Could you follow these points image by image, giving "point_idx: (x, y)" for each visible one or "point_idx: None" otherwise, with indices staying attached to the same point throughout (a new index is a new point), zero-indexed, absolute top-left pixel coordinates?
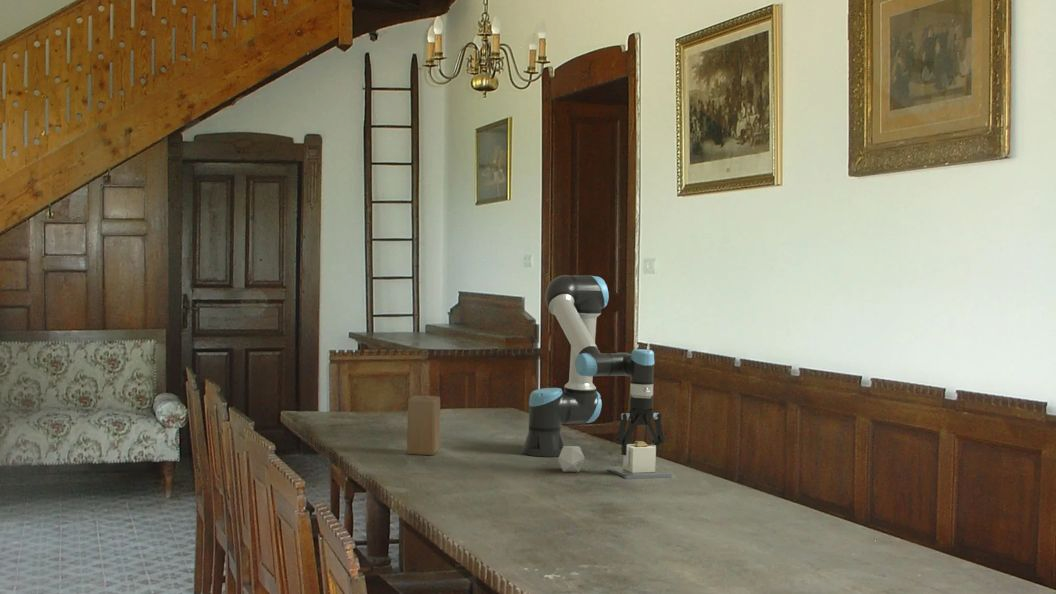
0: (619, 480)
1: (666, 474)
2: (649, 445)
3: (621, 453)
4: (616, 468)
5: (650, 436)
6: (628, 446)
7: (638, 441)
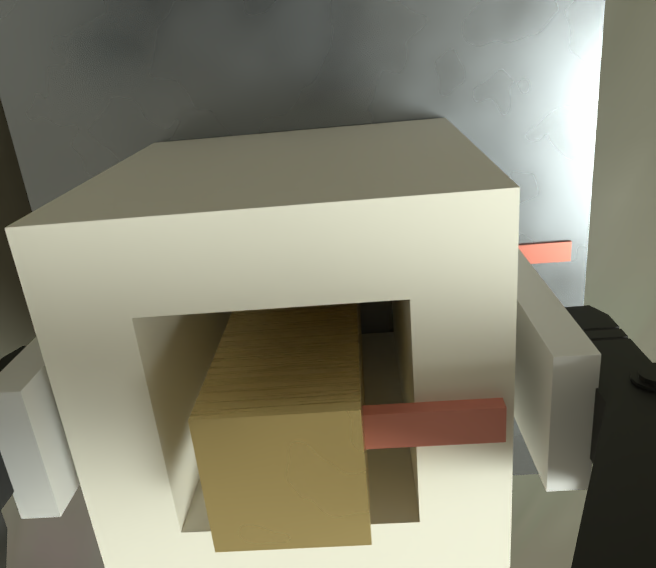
0: (51, 527)
1: (515, 474)
2: (480, 438)
3: (10, 360)
4: (73, 134)
5: (589, 492)
6: (51, 512)
7: (259, 454)
